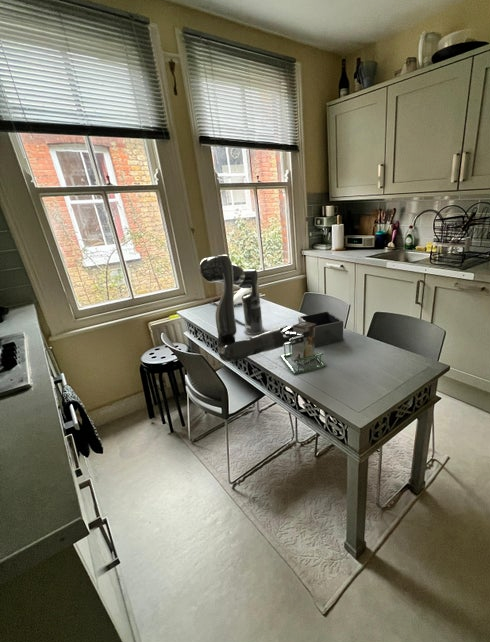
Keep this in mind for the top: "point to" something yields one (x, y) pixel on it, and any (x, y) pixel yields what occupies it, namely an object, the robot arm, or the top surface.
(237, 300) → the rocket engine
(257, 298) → the robot arm
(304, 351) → the coffee box
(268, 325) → the top surface
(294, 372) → the dish rack
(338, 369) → the top surface
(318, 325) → the grey open box
